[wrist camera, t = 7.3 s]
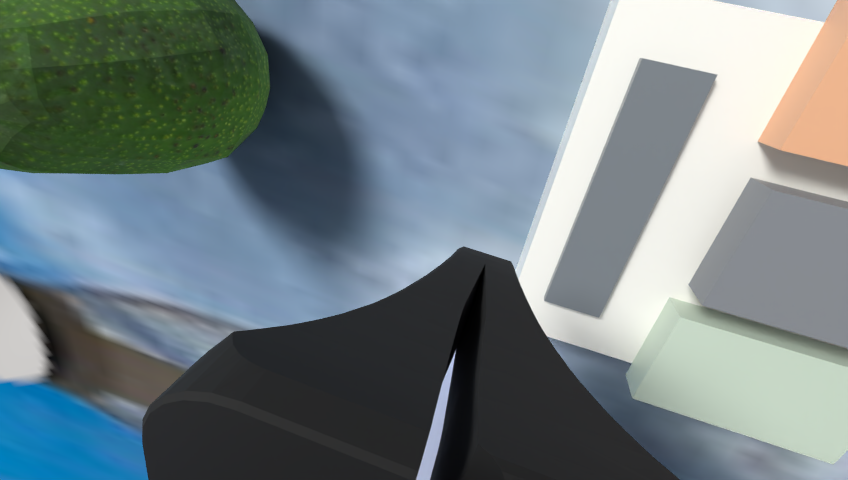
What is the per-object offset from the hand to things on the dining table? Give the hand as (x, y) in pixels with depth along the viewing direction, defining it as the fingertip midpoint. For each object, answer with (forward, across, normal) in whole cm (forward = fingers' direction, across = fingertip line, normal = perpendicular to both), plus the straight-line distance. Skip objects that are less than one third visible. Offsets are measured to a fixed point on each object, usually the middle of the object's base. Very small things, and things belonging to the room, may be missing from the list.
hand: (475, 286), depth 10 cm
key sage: (+8, -12, +4) cm, 15 cm away
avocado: (+10, +14, -1) cm, 18 cm away
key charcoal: (+7, -12, -1) cm, 14 cm away
